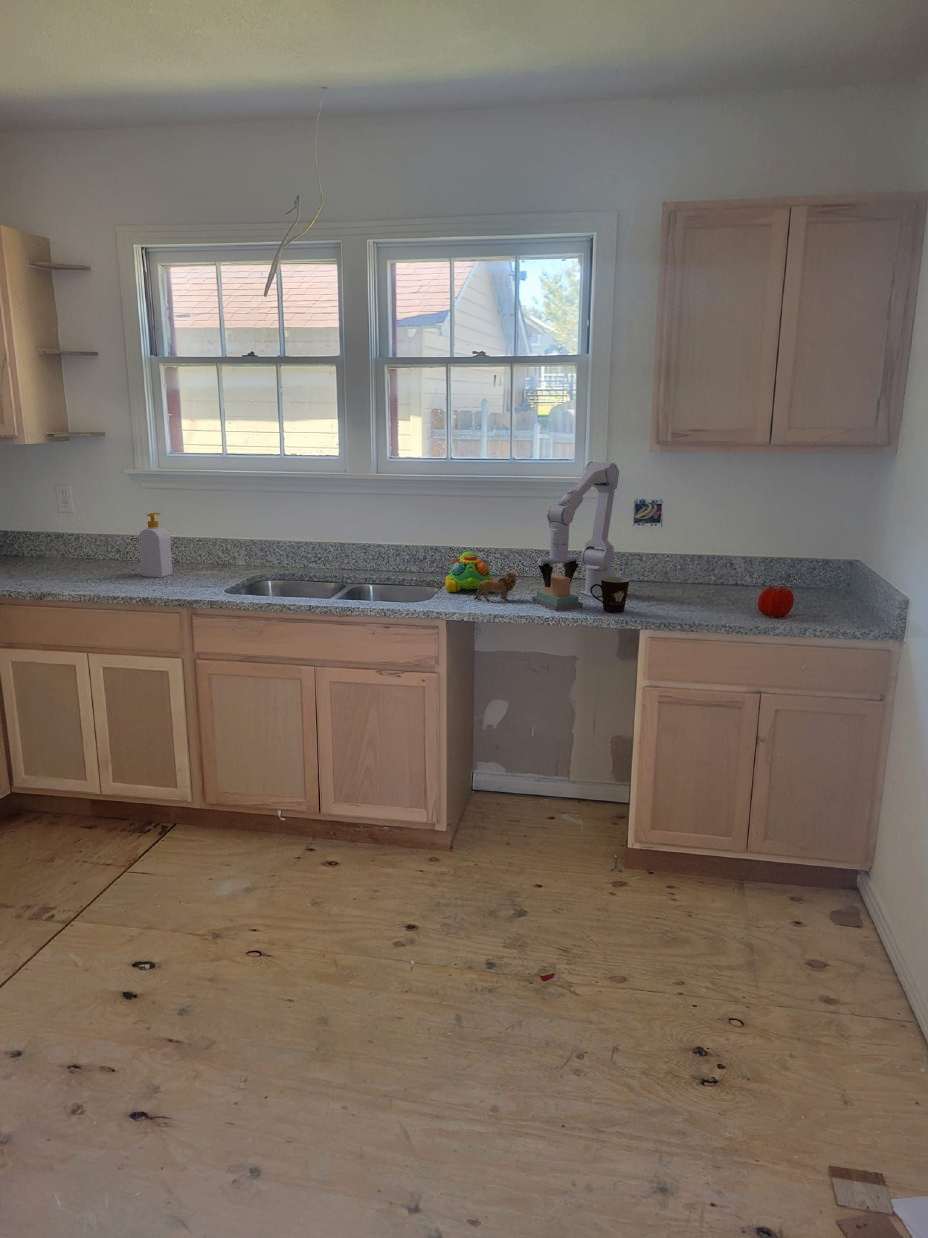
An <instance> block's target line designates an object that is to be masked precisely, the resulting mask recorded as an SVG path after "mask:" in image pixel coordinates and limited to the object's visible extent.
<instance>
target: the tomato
mask: <svg viewBox="0 0 928 1238" xmlns="http://www.w3.org/2000/svg"><path fill="white" fill-rule="evenodd" d="M794 600H795V599H794V594H793V591H792V590H790V589H789V588H786V587H784V586H780V587H777V588H774V587H773V586H768V587H767V588H765V589H764V590H763V591H762V592H761V593H760V595H759V596H758V600H757V609H758V611H759V612H760V613H761V614H763V615H764V616H768V615H769V617H771V616H773V617H772V618H774V617H776V618H780V617H781V616H783V617H784V616H787V615H788V614H789V613H790V612H791V610H792V608H793V606H794V602H795V601H794ZM781 618H782V617H781Z"/></svg>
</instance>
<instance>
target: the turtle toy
mask: <svg viewBox="0 0 928 1238" xmlns="http://www.w3.org/2000/svg"><path fill="white" fill-rule="evenodd" d="M451 565H452V566H451V568H450V570H449V574H448V575H447V576H446V577H445V580H444V583H445V588H446V591H447V593H453V592H456V593H457V592H460V591H461V590H462V589H464V590H476V589H477V590H478V587H479V585H480V583H481V582H482V581H484V580H490V581H494V579H493V576H492V575H491V571H490V568H489V565H488V562H487V561H486V560H485V559H484V558H479V557H478V555H477V554H476V553H474V552H472V551H466V552H463V553H462V554H461V555H460V556H459V557H458V558H455V559H453V561H452V562H451ZM480 589H481V587H480ZM488 593H494V592H493V591H491V590H489V592H488Z"/></svg>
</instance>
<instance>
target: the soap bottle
mask: <svg viewBox="0 0 928 1238" xmlns="http://www.w3.org/2000/svg"><path fill="white" fill-rule="evenodd" d="M155 515H158V516H160V515H161V513H159V512H150V513H148V514H146V516H147V517H150V520H149V521H147V528H146V529H142V530H141V531H140V532H139V534H138V548H139V559H140V572H141V576H142V577H147V578H148V577H149V578H159V579H160V578H161V579H162V578H165V577H168V576H172V575H173V574H174V573H173V560H172V549H171V537H170V534H169V532H168V531H167V530H166V529H165V528H163V527H160V526H159V521H158V520H155Z"/></svg>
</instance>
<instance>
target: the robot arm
mask: <svg viewBox="0 0 928 1238" xmlns="http://www.w3.org/2000/svg"><path fill="white" fill-rule="evenodd" d="M619 477H620V470H619V468H618V465H617V463H615V462H597V461H596V462H595V461H589V462H588V463H587V464H586V465H585V466H584V468H583V475H582V477H581V478H580V480H579V481H578V482H577V484H576V486H575V487H574V488H572V489H571V488H570V489H568V490H567V491H566V493H565V494H564V495H563V496H562V497H561V499H560V500H559V501H558V503H557V504H553V505H552V506H550V507H549V509H548V511H547V514H546V518H547V521H548V527H549V529H550V534H549V535H550V536H549V537H550V541H549V556H547V557H546V556H545V557H541V558H540V557H539V558H537V565H538V569H539V570H540V573H541V574H542V575H541V576H542V579H543V582H544V583H543V584H544V587H548V588H549V587H550V586H551V575H552V574H553V569H554V567H553V566H551V565H557V564H563V568H564V576H565V577H568V578H570V585H571V584H572V580H573V577H574V574H575V572H576V570H577V569H578V568H579V562H580V558H581V563H582V564H583V566H584V568H586V569H585V586H584V587H585V590H580V591H579V593H581V594H584V595H587V596H589V597H592V598H594V597H593V596H592V594H591V593H590V589H591V586H593V585H594V584H600V585H602V584H601V578H604V577H616V574H615V571H614V569H613V568H612V566H613V564H614V561H615V555H614V549H615V548H614V547H615V546H613V544H612V543H610V541H609V540H608V539H609V530H610V525H611V520H612V519H611V518H612V512H613V506H614V505H613V504H614V498H615V497H614V496H615V492H616V489H618V484H619ZM592 487H594V488H595V489H596V490H597V491H598V494H597V499H596V500H597V501H596V507H595V514H594V521H593V527H592V535H591V539H589V540H587V541H586V542H585V543H584V547H583V550H582V552H581V555H578V554H576V555H575V554H574V555H569V540H570V539H569V537H570V524H571V523H572V522H573V520H574V517H575V514H576V511H577V509H578V508H579V507H580V505H581V504H582V503H583V501H584V495H585V494H586V493H587V492H588V491H589V490H590V489H591V488H592ZM592 593H593V594H594V595H595V596H596V597H597V598H598V597H602V590H601V588H600V587H599V586H595V587H593V589H592Z"/></svg>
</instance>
